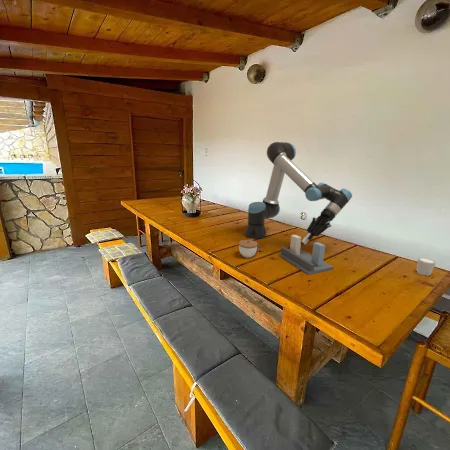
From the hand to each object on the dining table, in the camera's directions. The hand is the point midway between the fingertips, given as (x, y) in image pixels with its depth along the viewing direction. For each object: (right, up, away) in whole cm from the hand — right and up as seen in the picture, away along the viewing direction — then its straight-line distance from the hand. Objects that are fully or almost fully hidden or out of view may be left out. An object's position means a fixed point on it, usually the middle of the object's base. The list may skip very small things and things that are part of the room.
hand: (303, 242), depth 138 cm
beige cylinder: (+55, -14, -16) cm, 59 cm away
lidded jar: (-31, -8, +3) cm, 33 cm away
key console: (-1, -10, -5) cm, 11 cm away
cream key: (-5, -7, 0) cm, 8 cm away
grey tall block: (+3, -10, -11) cm, 15 cm away
